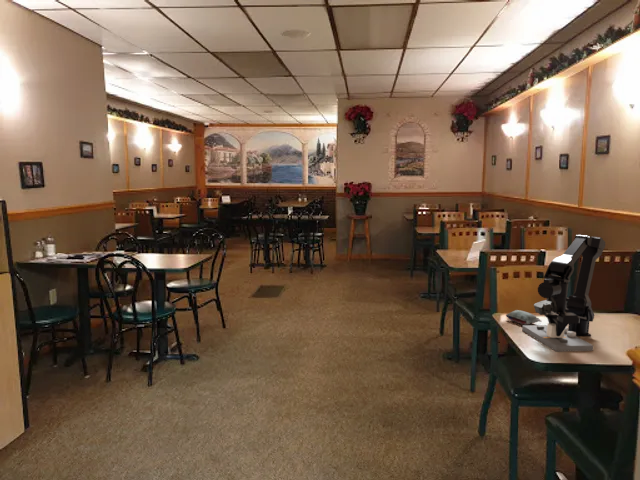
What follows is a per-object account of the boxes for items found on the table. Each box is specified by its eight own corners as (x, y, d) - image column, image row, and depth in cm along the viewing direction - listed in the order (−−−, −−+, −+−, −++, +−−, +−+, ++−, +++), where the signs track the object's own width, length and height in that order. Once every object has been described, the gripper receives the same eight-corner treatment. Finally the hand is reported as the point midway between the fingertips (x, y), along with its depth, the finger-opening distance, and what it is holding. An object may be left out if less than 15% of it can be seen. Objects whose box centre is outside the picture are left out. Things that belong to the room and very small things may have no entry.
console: (522, 330, 195) (522, 321, 194) (554, 329, 196) (555, 321, 195) (555, 351, 171) (556, 341, 170) (592, 350, 172) (593, 341, 172)
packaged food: (519, 317, 213) (520, 307, 212) (541, 325, 202) (542, 314, 201) (504, 320, 209) (505, 309, 208) (526, 328, 198) (527, 316, 198)
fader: (546, 334, 181) (547, 323, 181) (559, 334, 182) (560, 322, 181) (551, 337, 178) (552, 325, 178) (564, 337, 179) (565, 325, 178)
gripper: (525, 288, 186) (522, 327, 188) (552, 300, 168) (548, 343, 170) (552, 288, 187) (549, 326, 189) (582, 300, 169) (578, 343, 171)
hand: (555, 334), depth 180 cm, fingers closed on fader, 3 cm apart
